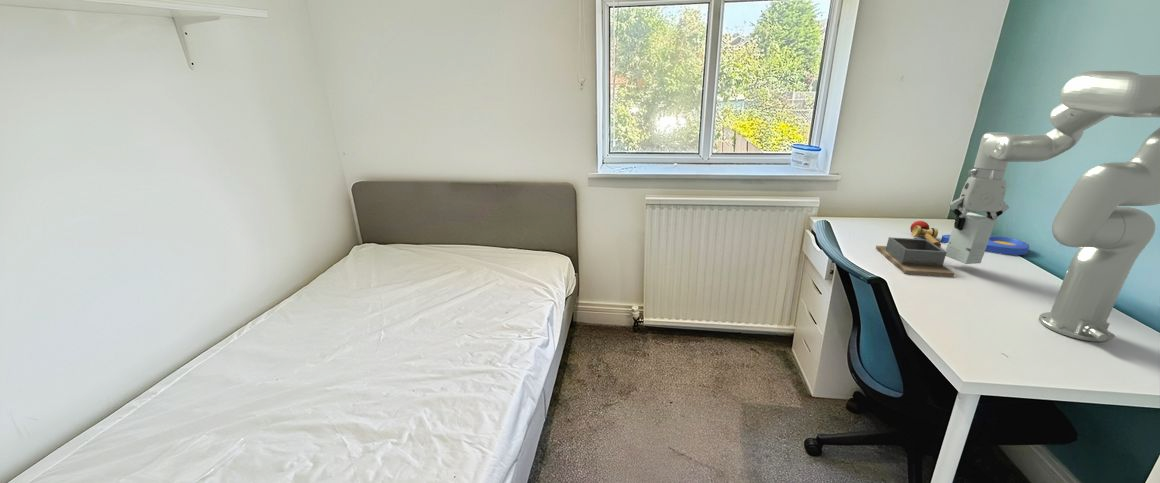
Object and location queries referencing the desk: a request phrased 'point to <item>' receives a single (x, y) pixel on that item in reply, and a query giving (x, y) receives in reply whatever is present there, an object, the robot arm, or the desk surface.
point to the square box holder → (916, 256)
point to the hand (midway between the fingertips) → (971, 229)
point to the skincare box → (970, 239)
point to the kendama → (925, 232)
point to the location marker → (1001, 245)
